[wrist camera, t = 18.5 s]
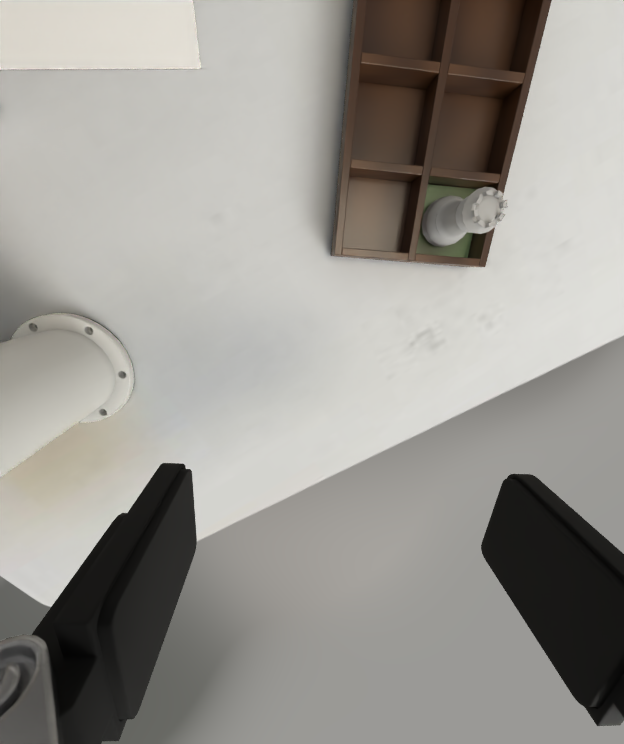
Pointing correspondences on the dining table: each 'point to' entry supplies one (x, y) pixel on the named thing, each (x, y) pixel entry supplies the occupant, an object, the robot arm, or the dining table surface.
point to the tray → (429, 119)
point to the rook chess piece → (462, 216)
